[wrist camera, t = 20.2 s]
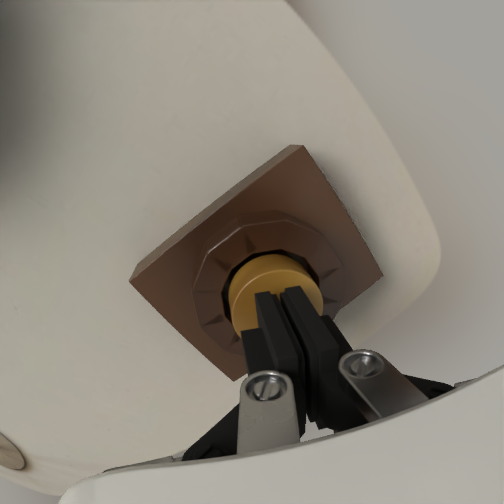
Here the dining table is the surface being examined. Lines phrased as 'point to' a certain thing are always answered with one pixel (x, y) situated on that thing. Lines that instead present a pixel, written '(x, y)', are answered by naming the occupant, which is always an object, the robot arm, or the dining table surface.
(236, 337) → the button block
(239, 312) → the button
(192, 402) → the dining table surface
